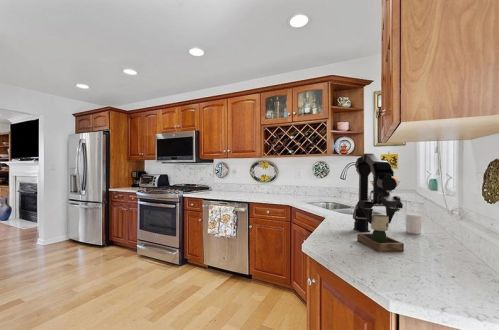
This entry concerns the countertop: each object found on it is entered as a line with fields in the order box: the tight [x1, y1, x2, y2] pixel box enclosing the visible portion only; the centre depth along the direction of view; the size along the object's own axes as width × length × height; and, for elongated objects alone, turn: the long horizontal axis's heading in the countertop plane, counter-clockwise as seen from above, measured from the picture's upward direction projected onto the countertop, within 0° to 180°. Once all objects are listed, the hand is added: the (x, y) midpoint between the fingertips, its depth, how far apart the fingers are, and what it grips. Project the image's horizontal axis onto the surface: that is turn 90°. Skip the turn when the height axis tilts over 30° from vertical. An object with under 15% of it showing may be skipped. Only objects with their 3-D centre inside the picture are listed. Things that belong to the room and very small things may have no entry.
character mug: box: [370, 213, 390, 243], centre depth 111 cm, size 11×7×13 cm, turn 161°
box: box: [356, 232, 405, 253], centre depth 111 cm, size 12×16×4 cm
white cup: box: [404, 212, 423, 235], centre depth 137 cm, size 8×8×10 cm
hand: (379, 223), depth 111 cm, fingers open, 9 cm apart
